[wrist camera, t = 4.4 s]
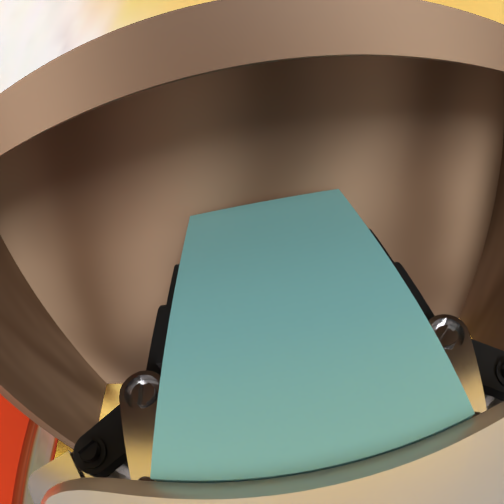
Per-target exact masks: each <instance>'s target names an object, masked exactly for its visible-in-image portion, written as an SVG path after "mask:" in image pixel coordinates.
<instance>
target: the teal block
mask: <svg viewBox="0 0 504 504" xmlns="http://www.w3.org/2000/svg"><path fill="white" fill-rule="evenodd" d="M474 414H475V412H474V410H473V408H472V406H471V403H470V401H469V399H468V397H467V395H466V392H465V390H464V388H463V386H462V384H461V382H460V380H459V378H458V376H457V374H456V372H455V370H454V368H453V366H452V364H451V362H450V360H449V358H448V356H447V354H446V352H445V350H444V348H443V347H442V345H441V343H440V341H439V339H438V337H437V336H436V334H435V332H434V330H433V328H432V327H431V325H430V323H429V321H428V320H427V318H426V316H425V315H424V313H423V311H422V309H421V308H420V306H419V304H418V303H417V301H416V300H415V298H414V296H413V295H412V293H411V291H410V290H409V288H408V287H407V285H406V283H405V282H404V280H403V279H402V277H401V276H400V274H399V272H398V271H397V269H396V268H395V266H394V265H393V263H392V262H391V260H390V259H389V257H388V256H387V254H386V253H385V251H384V250H383V249H382V247H381V246H380V244H379V243H378V241H377V240H376V238H375V237H374V236H373V234H372V233H371V231H370V230H369V229H368V227H367V226H366V224H365V223H364V222H363V220H362V219H361V218H360V216H359V215H358V214H357V212H356V211H355V209H354V208H353V207H352V205H351V204H350V203H349V202H348V200H347V199H346V198H345V196H344V195H343V194H342V192H341V191H340V190H339V189H334V190H328V191H321V192H315V193H309V194H303V195H297V196H291V197H286V198H280V199H274V200H269V201H263V202H258V203H252V204H247V205H242V206H237V207H232V208H227V209H222V210H217V211H212V212H207V213H202V214H197V215H193V216H190V218H189V223H188V227H187V232H186V236H185V241H184V245H183V250H182V255H181V260H180V265H179V270H178V275H177V280H176V285H175V290H174V296H173V301H172V307H171V312H170V318H169V324H168V330H167V336H166V343H165V349H164V356H163V363H162V370H161V377H160V384H159V392H158V400H157V409H156V418H155V427H154V437H153V448H152V460H151V474H150V479H152V480H154V481H156V482H180V483H216V482H237V481H250V480H260V479H269V478H278V477H285V476H292V475H298V474H304V473H309V472H315V471H320V470H324V469H329V468H334V467H338V466H342V465H346V464H350V463H354V462H358V461H361V460H365V459H368V458H372V457H375V456H378V455H382V454H385V453H388V452H391V451H394V450H397V449H400V448H403V447H405V446H408V445H411V444H414V443H416V442H419V441H421V440H424V439H426V438H429V437H431V436H434V435H436V434H438V433H440V432H443V431H445V430H447V429H449V428H452V427H454V426H456V425H458V424H460V423H462V422H464V421H467V420H469V419H470V418H471V417H472V416H473V415H474Z"/></svg>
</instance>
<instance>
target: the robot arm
mask: <svg viewBox="0 0 504 504" xmlns="http://www.w3.org/2000/svg"><path fill="white" fill-rule="evenodd" d="M369 230H370V231H371V233H372V234H373V236H374V237H375V238H376V240H377V241H378V243H379V244H380V246H381V247H382V249H383V250H384V251H385V253H386V254H387V256H388V257H389V259H390V260H391V262H392V263H393V265H394V266H395V268H396V269H397V271H398V272H399V274H400V276H401V277H402V279H403V280H404V282H405V283H406V285H407V287H408V288H409V290H410V291H411V293H412V295H413V296H414V298H415V300H416V301H417V303H418V304H419V306H420V308H421V309H422V311H423V313H424V315H425V316H426V318H427V320H428V321H429V323H430V325H431V327H432V328H433V330H434V332H435V334H436V336H437V337H438V339H439V341H440V343H441V345H442V347H443V348H444V350H445V352H446V354H447V356H448V358H449V360H450V362H451V364H452V366H453V368H454V370H455V372H456V374H457V376H458V378H459V380H460V382H461V384H462V386H463V388H464V390H465V392H466V395H467V397H468V399H469V401H470V403H471V406H472V408H473V410H474V412H475V414H474V415H473V416H472V417H471V418H470V419H469V420H467V421H464V422H462V423H460V424H458V425H456V426H454V427H452V428H449V429H447V430H445V431H443V432H440V433H438V434H436V435H434V436H431V437H429V438H426V439H424V440H421V441H419V442H416V443H414V444H411V445H408V446H405V447H403V448H400V449H397V450H394V451H391V452H388V453H385V454H382V455H378V456H375V457H372V458H368V459H365V460H361V461H358V462H354V463H350V464H346V465H342V466H338V467H334V468H329V469H324V470H320V471H315V472H309V473H304V474H298V475H292V476H285V477H278V478H269V479H260V480H250V481H237V482H216V483H180V482H156V481H154V480H152V479H150V474H151V460H152V448H153V437H154V427H155V418H156V409H157V400H158V392H159V384H160V377H161V370H162V363H163V356H164V349H165V343H166V336H167V330H168V324H169V318H170V312H171V307H172V301H173V296H174V290H175V285H176V280H177V275H178V270H179V265H180V264H176V265H175V266H174V270H173V275H172V279H171V284H170V289H169V294H168V299H167V304H166V305H161V306H160V307H159V309H158V312H157V316H156V321H155V326H154V331H153V336H152V341H151V346H150V351H149V357H148V362H147V368H146V370H145V371H139V372H137V373H134V374H132V375H131V376H130V377H128V378H127V379H126V380H125V382H124V383H123V384H122V387H121V389H120V395H119V400H120V405H118V406H117V407H116V408H115V409H114V410H112V411H111V412H110V413H109V414H108V415H106V416H105V417H104V418H103V419H102V420H100V421H99V422H98V423H97V424H96V425H94V426H93V427H92V428H91V429H89V430H88V431H87V432H86V433H85V434H83V435H82V436H81V437H80V438H79V439H78V440H77V442H76V444H75V446H74V451H73V452H70V451H67V452H65V453H64V454H62V455H60V456H59V457H57V458H55V459H54V460H52V461H51V462H49V463H47V464H46V465H44V466H42V467H41V468H39V469H37V470H36V471H34V472H33V473H32V474H31V476H30V478H29V482H28V487H29V492H30V495H31V497H32V500H33V502H34V504H504V351H503V350H500V349H497V348H495V347H492V346H489V345H486V344H484V343H481V342H478V341H476V340H473V339H471V337H470V333H469V330H468V328H467V326H466V325H465V324H464V323H463V321H462V320H460V319H459V318H457V317H455V316H452V315H448V314H441V315H436V316H434V314H433V312H432V311H431V309H430V307H429V306H428V304H427V303H426V301H425V299H424V298H423V296H422V295H421V293H420V291H419V290H418V288H417V287H416V285H415V284H414V282H413V281H412V279H411V278H410V276H409V275H408V273H407V272H406V270H405V269H404V267H403V266H402V265H401V264H400V263H399V262H394V261H393V260H392V258H391V257H390V255H389V254H388V252H387V251H386V249H385V248H384V247H383V245H382V244H381V242H380V241H379V239H378V238H377V237H376V235H375V234H374V232H373V231H372V230H371V229H369Z"/></svg>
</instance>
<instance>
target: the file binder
mask: <svg viewBox="0 0 504 504" xmlns="http://www.w3.org/2000/svg"><path fill="white" fill-rule="evenodd" d="M57 442H58V439H57V438H55V437H54V436H53V435H51V434H50V433H48V432H47V431H46V430H44V429H43V428H41V427H40V426H39V425H37V424H36V423H35V422H33V421H32V420H31V419H30V418H28V417H27V416H26V415H24V414H23V413H22V412H21V411H20V410H18V409H17V408H16V407H15V406H14V405H12V404H11V403H10V402H9V401H8V400H7V399H5V398H4V397H3V396H2V395H1V394H0V504H34V502H33V500H32V497H31V495H30V492H29V487H28V482H29V478H30V476H31V474H32V473H33V472H34V471H36V470H37V469H39V468H41V467H42V466H44V465H46V464H47V463H49V462H51V461H52V460H54V457H55V452H56V447H57Z"/></svg>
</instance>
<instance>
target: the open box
mask: <svg viewBox="0 0 504 504" xmlns="http://www.w3.org/2000/svg"><path fill="white" fill-rule="evenodd" d="M334 189H339V190H340V191H341V192H342V194H343V195H344V196H345V198H346V199H347V200H348V202H349V203H350V204H351V205H352V207H353V208H354V209H355V211H356V212H357V214H358V215H359V216H360V218H361V219H362V220H363V222H364V223H365V224H366V226H367V227H368V229H371V230H372V231H373V232H374V234H375V235H376V237H377V238H378V239H379V241H380V242H381V244H382V245H383V247H384V248H385V249H386V251H387V252H388V254H389V255H390V257H391V258H392V260H393V261H394V262H399V263H400V264H401V265H402V266H403V267H404V269H405V270H406V272H407V273H408V275H409V276H410V278H411V279H412V281H413V282H414V284H415V285H416V287H417V288H418V290H419V291H420V293H421V295H422V296H423V298H424V299H425V301H426V303H427V304H428V306H429V307H430V309H431V311H432V312H433V314H434V316H436V315H441V314H448V315H452V316H455V317H457V318H460V320H462V321H463V323H464V324H465V325H466V326H467V328H468V330H469V333H470V335H471V337H472V338H473V340H476V341H478V342H481V343H484V344H486V345H489V346H492V347H495V348H497V349H500V350H503V351H504V25H503V24H501V23H498V22H496V21H493V20H490V19H487V18H484V17H482V16H479V15H476V14H472V13H469V12H466V11H463V10H459V9H456V8H452V7H448V6H444V5H440V4H436V3H431V2H427V1H422V0H217V1H212V2H207V3H202V4H198V5H194V6H189V7H185V8H182V9H178V10H174V11H171V12H167V13H164V14H160V15H157V16H154V17H151V18H148V19H145V20H142V21H139V22H136V23H133V24H130V25H128V26H125V27H122V28H120V29H117V30H115V31H112V32H110V33H107V34H105V35H103V36H100V37H98V38H96V39H94V40H91V41H89V42H87V43H85V44H83V45H81V46H79V47H77V48H75V49H73V50H71V51H69V52H67V53H65V54H63V55H61V56H59V57H57V58H56V59H54V60H52V61H50V62H48V63H47V64H45V65H43V66H42V67H40V68H38V69H37V70H35V71H33V72H32V73H30V74H28V75H27V76H25V77H24V78H22V79H21V80H19V81H18V82H16V83H15V84H13V85H12V86H10V87H9V88H7V89H6V90H5V91H3V92H2V93H0V394H1V395H2V396H3V397H4V398H5V399H7V400H8V401H9V402H10V403H11V404H12V405H14V406H15V407H16V408H17V409H18V410H20V411H21V412H22V413H23V414H24V415H26V416H27V417H28V418H30V419H31V420H32V421H33V422H35V423H36V424H37V425H39V426H40V427H41V428H43V429H44V430H46V431H47V432H48V433H50V434H51V435H53V436H54V437H55V438H57V439H58V440H60V441H61V442H63V443H64V444H66V445H67V446H69V447H71V448H72V449H74V446H75V444H76V442H77V440H78V439H79V438H80V437H81V436H82V435H83V434H85V433H86V432H87V431H88V430H89V429H91V428H92V427H93V426H94V425H96V424H97V423H98V422H99V417H100V412H101V407H102V403H103V398H104V394H105V389H106V385H107V384H116V383H124V382H125V380H126V379H127V378H128V377H130V376H131V375H132V374H134V373H137V372H139V371H145V370H146V368H147V362H148V357H149V351H150V346H151V341H152V336H153V331H154V326H155V321H156V316H157V312H158V309H159V307H160V306H161V305H166V304H167V299H168V294H169V289H170V284H171V279H172V275H173V270H174V266H175V265H176V264H180V260H181V255H182V250H183V245H184V241H185V236H186V232H187V227H188V223H189V218H190V216H193V215H197V214H202V213H207V212H212V211H217V210H222V209H227V208H232V207H237V206H242V205H247V204H252V203H258V202H263V201H269V200H274V199H280V198H286V197H291V196H297V195H303V194H309V193H315V192H321V191H328V190H334Z"/></svg>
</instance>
